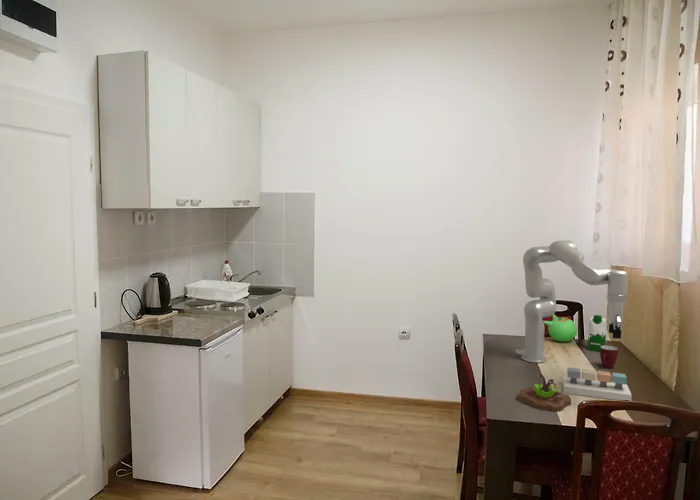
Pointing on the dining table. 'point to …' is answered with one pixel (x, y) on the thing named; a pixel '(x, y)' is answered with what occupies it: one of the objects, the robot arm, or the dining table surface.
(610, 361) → the mug
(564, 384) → the keypad base
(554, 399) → the plant
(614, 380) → the key
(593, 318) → the milk carton
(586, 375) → the key
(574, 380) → the key
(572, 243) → the robot arm
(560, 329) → the toy bird
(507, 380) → the dining table surface
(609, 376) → the key
